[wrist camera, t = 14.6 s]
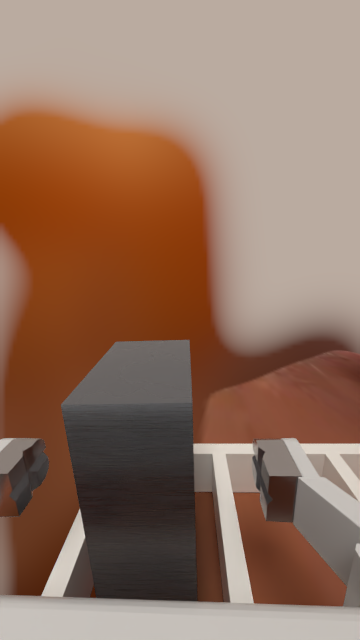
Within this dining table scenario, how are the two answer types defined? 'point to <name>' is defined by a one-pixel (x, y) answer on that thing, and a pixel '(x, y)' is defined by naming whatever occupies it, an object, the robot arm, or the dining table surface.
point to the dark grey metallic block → (137, 470)
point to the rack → (222, 480)
